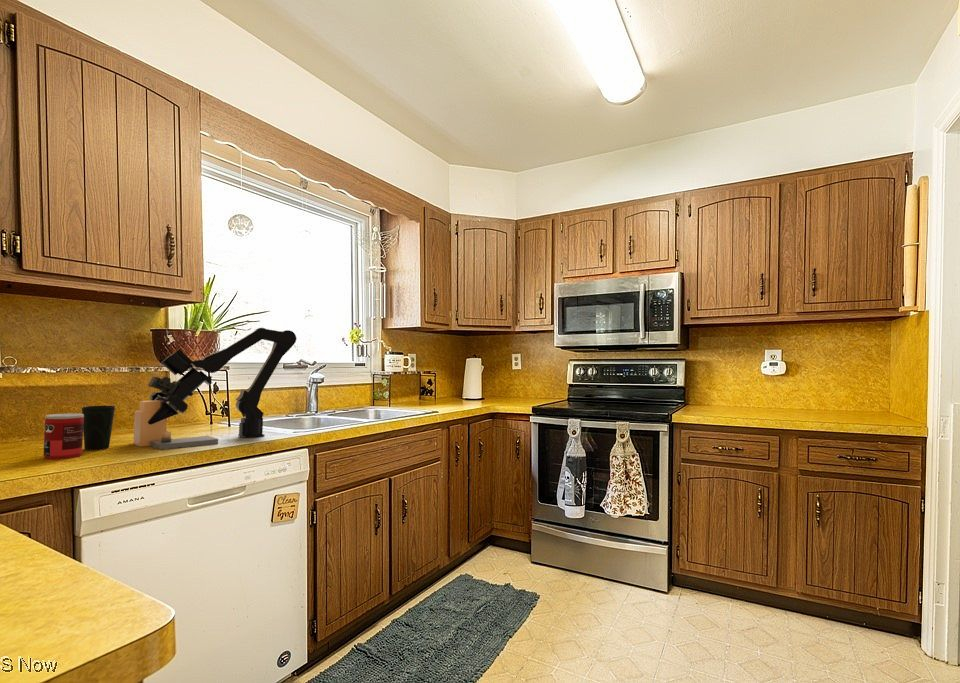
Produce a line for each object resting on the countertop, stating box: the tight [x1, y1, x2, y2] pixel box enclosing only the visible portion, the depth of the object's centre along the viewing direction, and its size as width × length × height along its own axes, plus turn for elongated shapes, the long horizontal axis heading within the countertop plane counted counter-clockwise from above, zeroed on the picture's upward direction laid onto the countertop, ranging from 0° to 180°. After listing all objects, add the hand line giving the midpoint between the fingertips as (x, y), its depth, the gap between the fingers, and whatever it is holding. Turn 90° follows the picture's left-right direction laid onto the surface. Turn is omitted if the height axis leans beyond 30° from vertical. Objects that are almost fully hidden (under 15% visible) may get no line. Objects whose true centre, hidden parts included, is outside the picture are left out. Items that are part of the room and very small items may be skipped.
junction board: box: [149, 430, 219, 451], centre depth 154 cm, size 16×9×4 cm, turn 138°
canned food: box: [42, 412, 84, 460], centre depth 133 cm, size 8×8×11 cm
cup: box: [81, 405, 116, 451], centre depth 145 cm, size 8×8×12 cm
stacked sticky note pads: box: [133, 400, 168, 447], centre depth 154 cm, size 7×7×13 cm
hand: (145, 422), depth 153 cm, fingers closed on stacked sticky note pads, 7 cm apart
